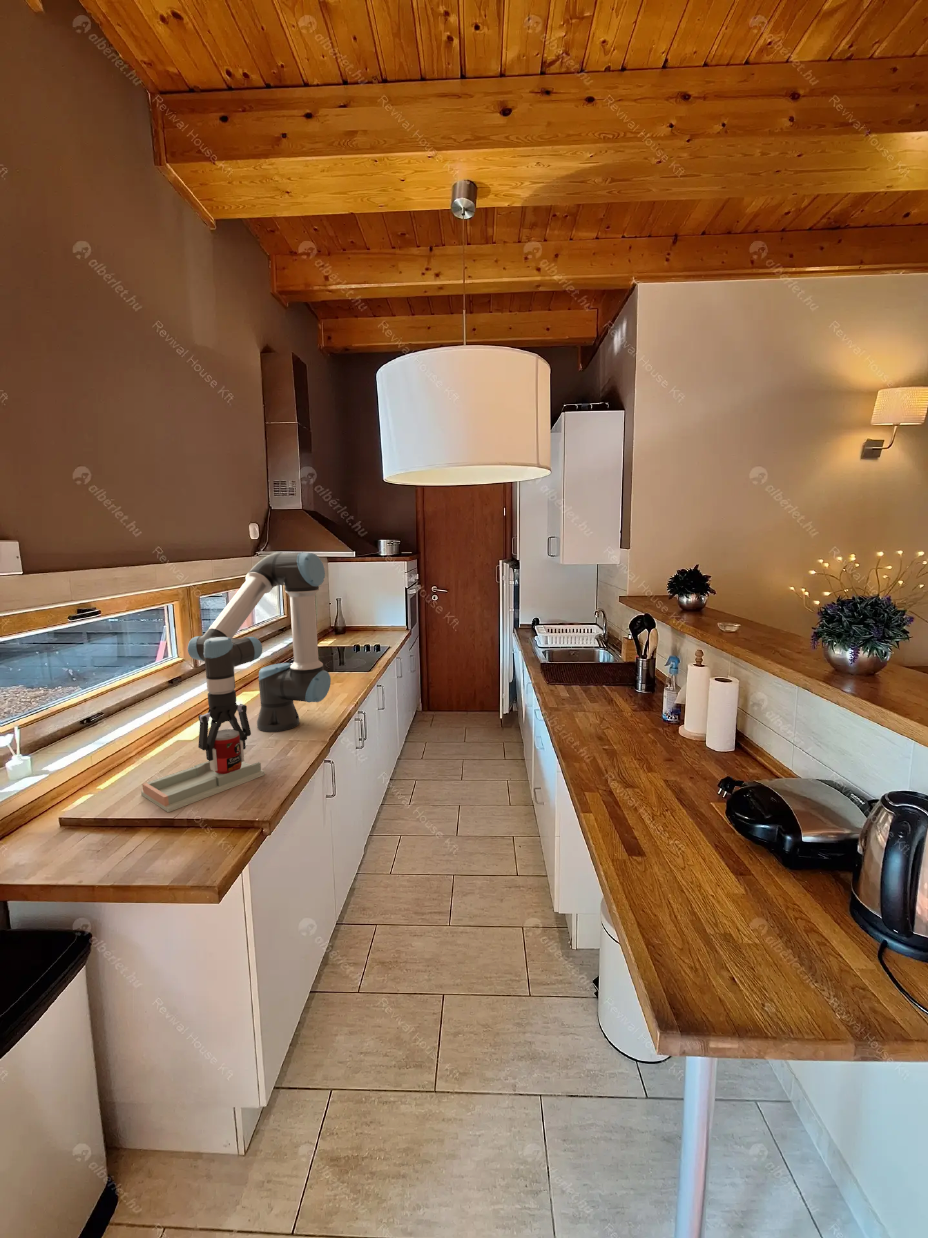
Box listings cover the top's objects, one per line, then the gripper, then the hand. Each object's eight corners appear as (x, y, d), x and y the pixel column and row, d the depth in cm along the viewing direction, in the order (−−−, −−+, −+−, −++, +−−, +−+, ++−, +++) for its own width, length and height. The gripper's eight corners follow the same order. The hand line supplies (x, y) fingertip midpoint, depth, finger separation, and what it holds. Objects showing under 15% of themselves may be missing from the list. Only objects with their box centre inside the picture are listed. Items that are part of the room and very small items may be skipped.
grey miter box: (236, 761, 174) (235, 750, 174) (264, 774, 165) (263, 763, 164) (141, 795, 153) (140, 782, 152) (168, 812, 143) (166, 799, 142)
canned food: (232, 775, 159) (229, 739, 158) (207, 773, 161) (204, 737, 159) (247, 764, 167) (244, 729, 165) (223, 762, 168) (221, 728, 167)
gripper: (247, 681, 170) (252, 751, 174) (179, 696, 154) (186, 773, 158) (260, 685, 166) (265, 757, 169) (192, 701, 150) (199, 780, 153)
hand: (227, 765), depth 163 cm, fingers closed on canned food, 8 cm apart
